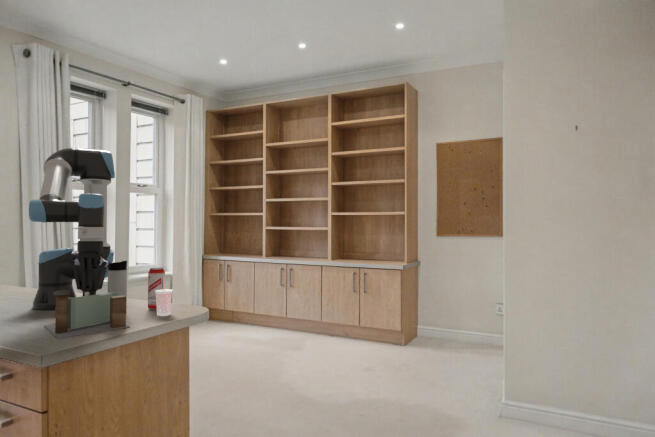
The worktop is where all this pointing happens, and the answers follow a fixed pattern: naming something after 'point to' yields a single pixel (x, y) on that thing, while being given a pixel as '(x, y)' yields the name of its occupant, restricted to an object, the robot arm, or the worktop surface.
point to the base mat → (84, 329)
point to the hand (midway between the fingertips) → (89, 311)
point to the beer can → (154, 285)
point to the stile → (117, 311)
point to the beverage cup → (163, 300)
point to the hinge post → (61, 311)
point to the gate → (89, 310)
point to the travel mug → (118, 279)
